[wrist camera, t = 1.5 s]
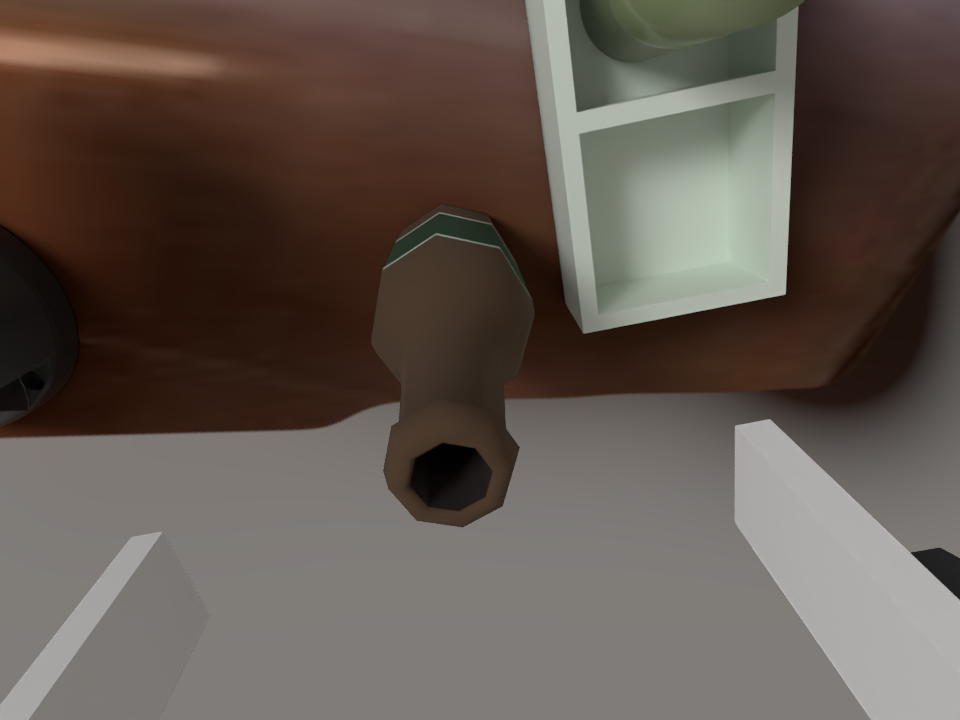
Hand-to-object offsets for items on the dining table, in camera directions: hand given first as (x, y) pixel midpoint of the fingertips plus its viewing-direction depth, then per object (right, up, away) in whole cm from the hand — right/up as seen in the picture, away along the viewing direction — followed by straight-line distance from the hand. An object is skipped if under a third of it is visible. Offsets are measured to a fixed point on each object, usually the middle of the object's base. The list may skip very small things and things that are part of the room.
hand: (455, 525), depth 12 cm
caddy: (+10, +19, +20) cm, 29 cm away
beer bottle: (-1, +11, +24) cm, 26 cm away
